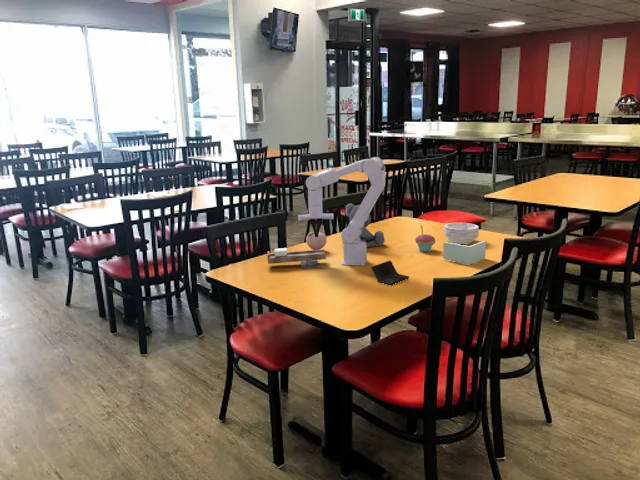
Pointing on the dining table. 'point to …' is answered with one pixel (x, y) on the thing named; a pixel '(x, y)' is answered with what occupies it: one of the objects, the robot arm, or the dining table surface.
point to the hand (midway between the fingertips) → (316, 236)
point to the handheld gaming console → (387, 273)
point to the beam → (297, 256)
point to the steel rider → (280, 252)
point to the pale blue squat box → (464, 252)
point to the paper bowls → (461, 232)
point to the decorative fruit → (316, 240)
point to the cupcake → (425, 241)
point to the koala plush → (365, 235)
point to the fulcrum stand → (309, 263)
